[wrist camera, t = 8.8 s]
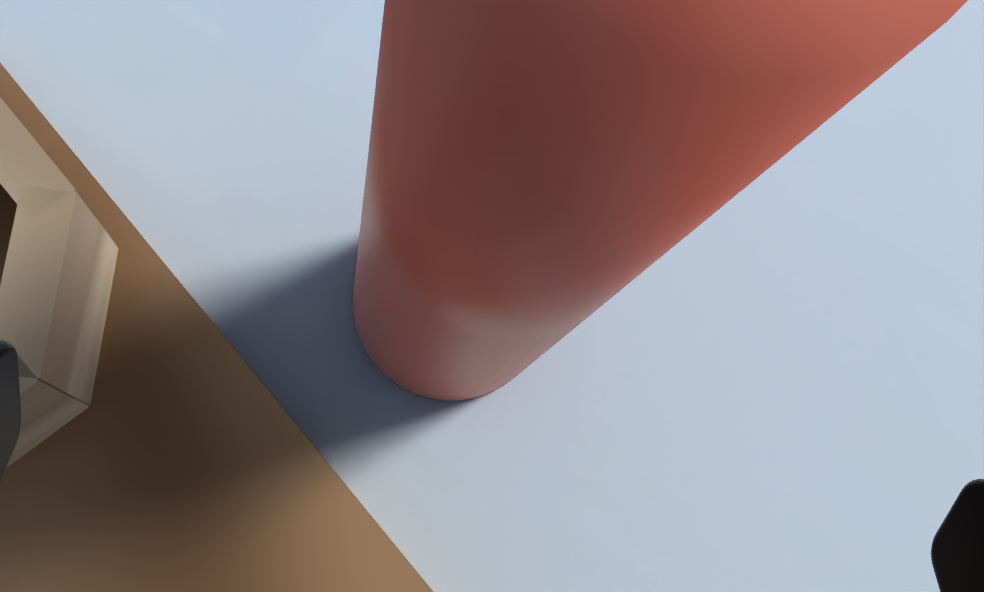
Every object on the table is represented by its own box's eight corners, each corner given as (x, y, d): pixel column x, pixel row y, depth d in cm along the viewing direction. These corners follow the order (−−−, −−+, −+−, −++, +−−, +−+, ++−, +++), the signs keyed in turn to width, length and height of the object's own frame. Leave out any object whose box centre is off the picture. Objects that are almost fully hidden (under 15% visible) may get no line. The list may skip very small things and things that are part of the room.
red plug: (439, 441, 19) (728, 209, 5) (311, 288, 19) (274, -304, 5) (583, 318, 20) (1127, -133, 6) (461, 176, 20) (732, -542, 7)
